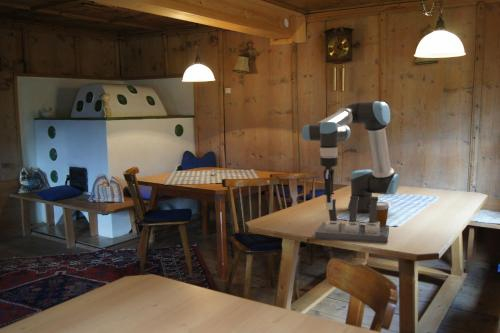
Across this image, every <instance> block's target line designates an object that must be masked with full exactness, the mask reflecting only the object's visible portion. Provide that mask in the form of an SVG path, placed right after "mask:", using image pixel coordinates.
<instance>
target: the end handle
mask: <svg viewBox="0 0 500 333" xmlns="http://www.w3.org/2000/svg"><path fill="white" fill-rule="evenodd" d="M377 202H379V196H372V197H370V212H369V214H368V215H369V216H368V221H369V223H376V213H377Z"/></svg>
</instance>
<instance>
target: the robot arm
mask: <svg viewBox="0 0 500 333" xmlns="http://www.w3.org/2000/svg"><path fill="white" fill-rule="evenodd" d="M390 122H391V110H390V107H389V105H388V104H387V103H386V102H384V101H378V100H377V101H357V102H356V101H355V102H352V103H350V104H346V105H344V106H343V107H340V108H339V109H337V111H335V113H333V114H331V115H329V116H327V117H326V118H323V119H322V120H320V121H318V122H316V123H313V124H306V125H304V126H302V129H301V137H302V139H303V140H305V141H309V142H320V144H319V145H320V146H319V147H320V149H318V151H319V152H320V155H319V156H320V166H321V167H325V168H324V170H323V178H324V179H323V180H324V193H323V195H324V196H325V210H328V211H329V210H332V209H333V198H334V197H333V195H335V192H334V177H335V176H334V175H335V169H334V168H333V167H337V166H338V160H339V159H338V156H339V155H338V154H339V153H338V151H339V150H338V149H339V148H338V143H340V142H345V141H347V140H348V139H350V138H351V135H352V134H351V133H352V131H351V129H350V127H349V126H350V125H363V126H364V130H365V131H366V132H368V136H369V137H368V138H369V143H370V150H371V151H370V152H371V155H372V163H373V168H374V169H373V170H372V169H370V168H369V169H359V170H355V171H352V172H351V176H350V196H359V201H358V204H357V214H358V213H361V214H362V213H363V214H364V213H367V214H368V213H370V197H373V194H377V195H378V194H379V195H386V196H389V195H391V196H393V195H395V194H396V193H397V191H398V189H399V185H400V175H399V174H397V173H395V170H394V168H393V167H391V163H390V162H391V160H390V153H389V148H388V146H389V145H388V140H387V133H386V129H387V127H388V124H389V123H390ZM348 202H349V203H348V204H347V211H349V212H350V206H351V200H350V199H349V201H348Z"/></svg>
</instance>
